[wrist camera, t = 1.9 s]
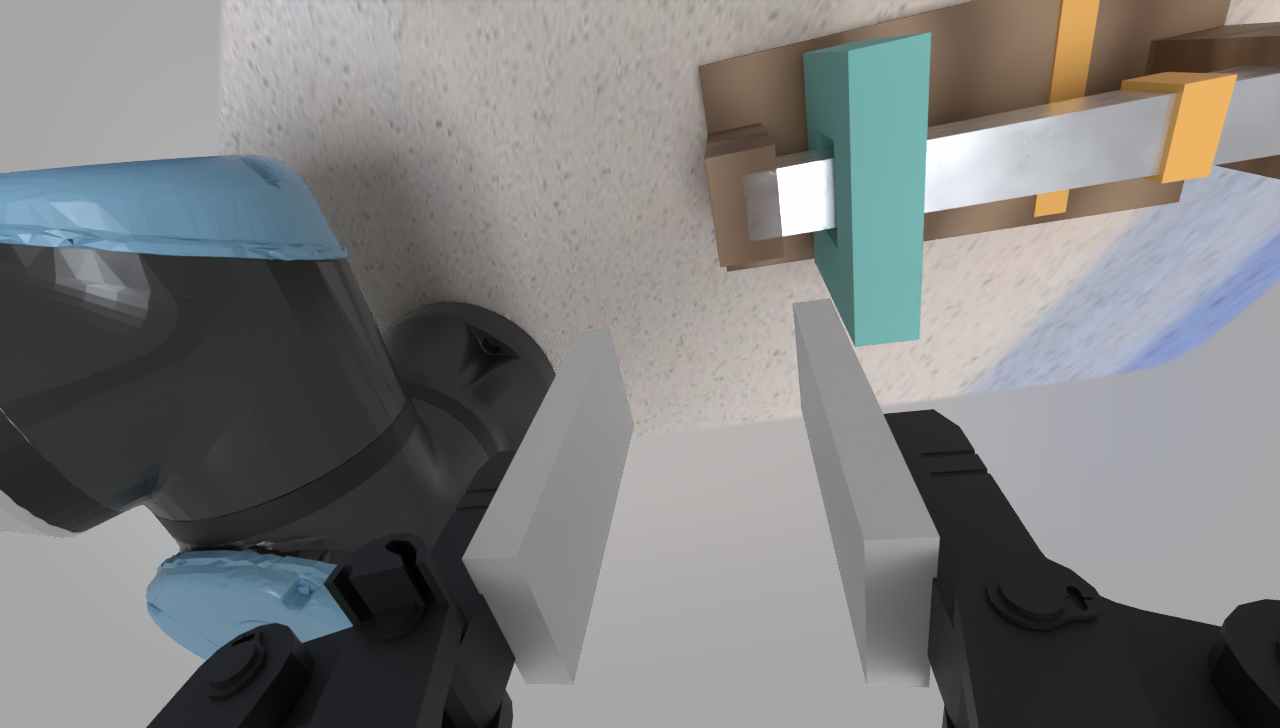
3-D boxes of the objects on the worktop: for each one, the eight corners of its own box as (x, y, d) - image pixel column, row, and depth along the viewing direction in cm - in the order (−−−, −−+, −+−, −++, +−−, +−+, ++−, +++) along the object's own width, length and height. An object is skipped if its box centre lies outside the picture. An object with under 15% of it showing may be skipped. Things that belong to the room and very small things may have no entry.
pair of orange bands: (1032, 216, 31) (1140, 270, 23) (1062, -8, 26) (1214, -37, 18) (1063, 211, 31) (1184, 264, 23) (1099, -17, 26) (1272, -51, 18)
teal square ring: (814, 261, 32) (855, 346, 23) (802, 53, 27) (848, 51, 18) (859, 254, 32) (919, 339, 22) (855, 41, 26) (931, 31, 17)
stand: (727, 263, 36) (729, 332, 27) (699, 66, 31) (691, 69, 22) (1159, 196, 31) (1340, 252, 22) (1220, -58, 26) (1493, -121, 17)
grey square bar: (746, 224, 28) (749, 241, 25) (739, 164, 26) (741, 175, 24) (1267, 135, 23) (1337, 144, 20) (1293, 56, 22) (1371, 55, 19)
